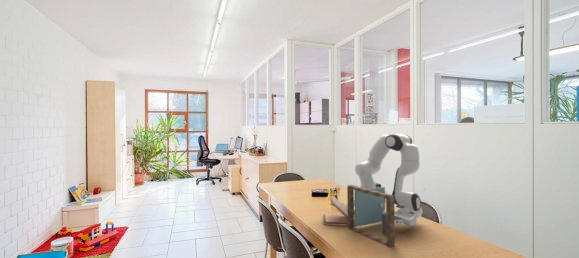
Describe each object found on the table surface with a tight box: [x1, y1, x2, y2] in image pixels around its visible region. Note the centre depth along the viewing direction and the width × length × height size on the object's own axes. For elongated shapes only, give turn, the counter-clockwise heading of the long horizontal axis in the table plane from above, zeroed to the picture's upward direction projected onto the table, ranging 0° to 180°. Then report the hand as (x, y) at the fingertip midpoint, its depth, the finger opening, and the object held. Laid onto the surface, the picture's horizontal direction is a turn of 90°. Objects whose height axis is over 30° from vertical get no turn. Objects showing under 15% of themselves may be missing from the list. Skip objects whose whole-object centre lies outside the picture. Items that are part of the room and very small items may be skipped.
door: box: [354, 186, 386, 228], centre depth 174 cm, size 24×3×23 cm, turn 113°
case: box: [322, 195, 355, 227], centre depth 185 cm, size 20×21×16 cm
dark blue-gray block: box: [381, 213, 396, 236], centre depth 162 cm, size 4×6×12 cm
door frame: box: [346, 184, 396, 248], centre depth 158 cm, size 32×3×28 cm, turn 33°
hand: (390, 219), depth 163 cm, fingers open, 8 cm apart
